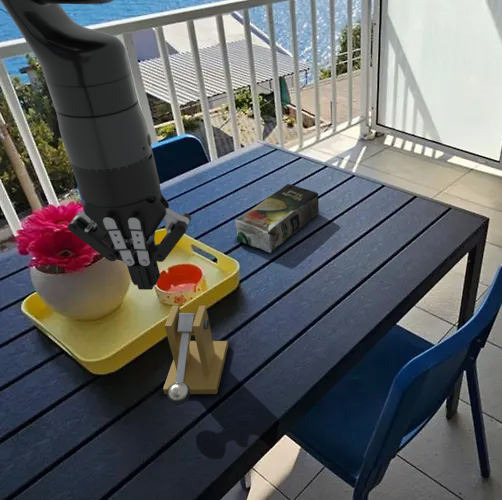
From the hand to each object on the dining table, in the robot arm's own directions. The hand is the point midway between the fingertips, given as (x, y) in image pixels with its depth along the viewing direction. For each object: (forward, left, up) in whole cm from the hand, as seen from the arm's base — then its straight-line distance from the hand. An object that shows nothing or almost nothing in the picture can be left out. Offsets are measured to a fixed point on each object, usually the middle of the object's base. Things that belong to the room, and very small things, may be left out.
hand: (148, 285), depth 59 cm
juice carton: (+50, +9, -25) cm, 57 cm away
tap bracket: (+8, +3, -25) cm, 26 cm away
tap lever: (+5, +2, -19) cm, 20 cm away
